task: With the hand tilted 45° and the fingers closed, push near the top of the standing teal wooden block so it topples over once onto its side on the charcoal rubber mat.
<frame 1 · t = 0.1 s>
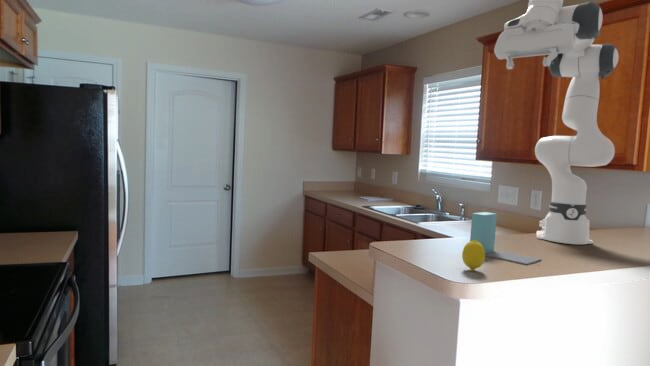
hand: (527, 66, 119), 54 cm above the table, tool tilted 30°, fingers open, 8 cm apart
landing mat: (511, 257, 131), on the table
teal block: (481, 251, 138), on the table
lemon: (472, 271, 114), on the table
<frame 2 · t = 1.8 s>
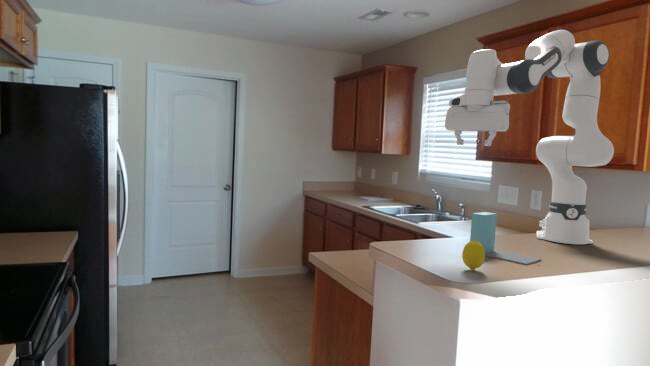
hand: (473, 145, 139), 33 cm above the table, tool pointing down, fingers open, 8 cm apart
nothing on the table moved.
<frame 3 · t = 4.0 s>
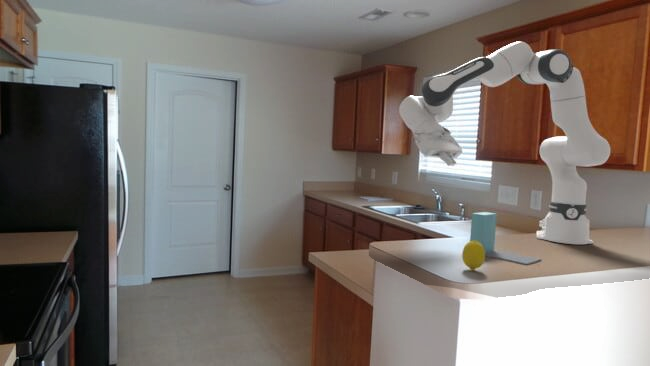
hand: (452, 164, 145), 26 cm above the table, tool tilted 45°, fingers closed
nothing on the table moved.
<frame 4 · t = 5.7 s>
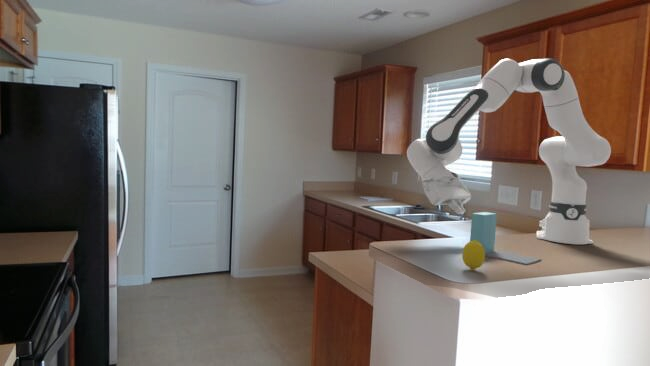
hand: (461, 212, 142), 11 cm above the table, tool tilted 45°, fingers closed
nothing on the table moved.
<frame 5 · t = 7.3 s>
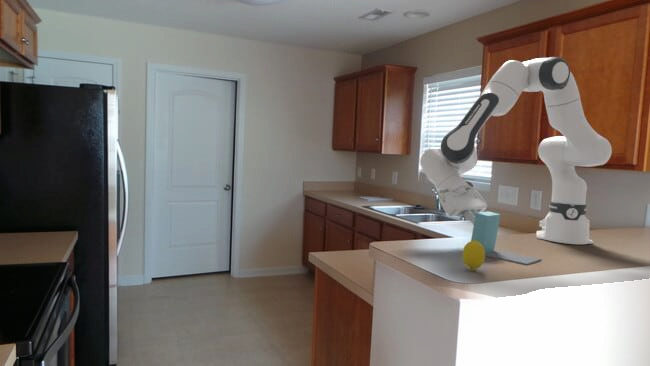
hand: (478, 223, 138), 8 cm above the table, tool tilted 45°, fingers closed
teal block: (481, 250, 138), on the table, tilted 6°, touching gripper
everything else where it was.
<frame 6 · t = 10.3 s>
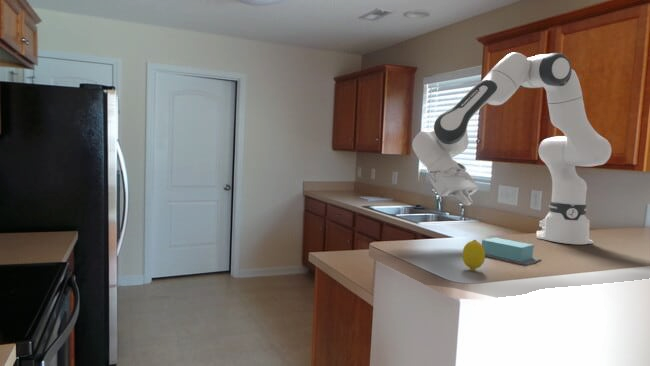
hand: (469, 203, 141), 14 cm above the table, tool tilted 45°, fingers closed
teal block: (488, 245, 136), point 2 cm above the table, tilted 90°, touching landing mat
everything else where it was.
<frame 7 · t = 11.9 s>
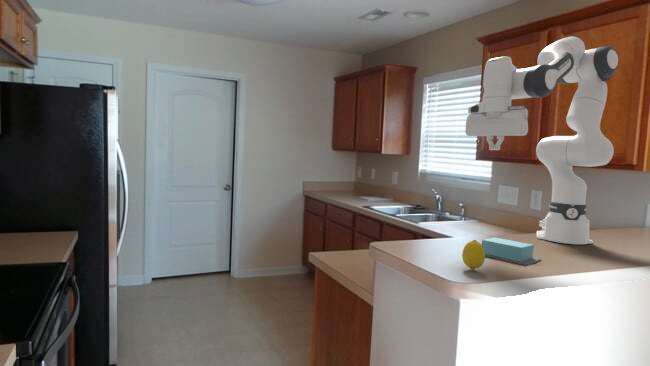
hand: (494, 150, 145), 32 cm above the table, tool pointing down, fingers closed
nothing on the table moved.
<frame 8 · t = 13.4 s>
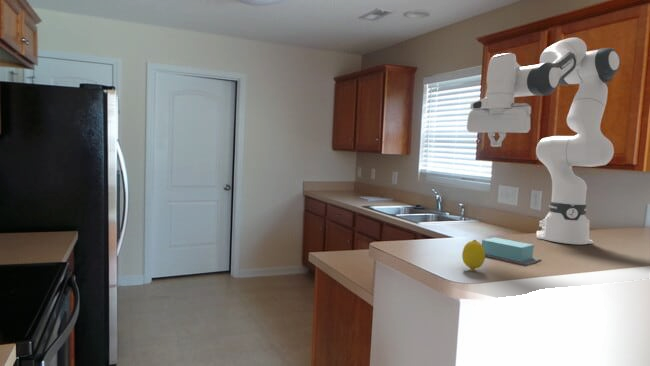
hand: (495, 146, 144), 33 cm above the table, tool pointing down, fingers closed
nothing on the table moved.
at the end: teal block tilted 90°; teal block inside the target area (3.1 cm from its centre), point 2.4 cm above the table; teal block touching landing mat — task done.
